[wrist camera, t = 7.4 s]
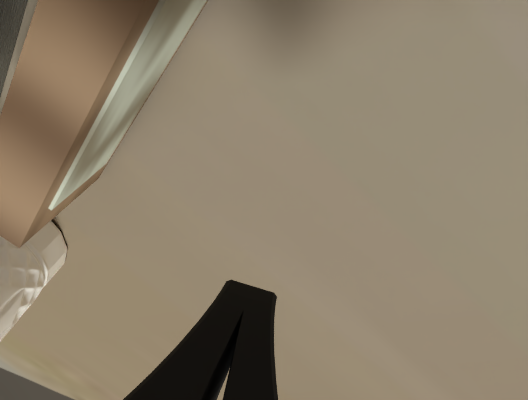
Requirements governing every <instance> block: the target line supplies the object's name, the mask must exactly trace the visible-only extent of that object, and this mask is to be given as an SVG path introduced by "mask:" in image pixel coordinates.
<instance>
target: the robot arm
mask: <svg viewBox="0 0 528 400" xmlns="http://www.w3.org/2000/svg"><path fill="white" fill-rule="evenodd" d="M276 299H277V296H276V295H275V294H274V293H273V292H270V291H266V290H263V289H260V288H256V287H253V286H250V285H247V284H243V283H240V282H237V281H233V280H229V281H226V283H225V285H224V287H223V288H222V290H221V291H220V293H219V294H218V296H217V297H216V299H215V300H214V302H213V303H212V304H211V306H210V307H209V308H208V310H207V311H206V312H205V313H204V315H203V316H202V317H201V319H200V320H199V321H198V322H197V323H196V325H195V326H194V327H193V328H192V329H191V330H190V332H189V333H188V334H187V335H186V336H185V337H184V339H183V340H182V341H181V342H180V343H179V344H178V345H177V346H176V348H175V349H174V350H173V351H172V352H171V353H170V354H169V355H168V356H167V357H166V358H165V359H164V360H163V361H162V362H161V363H160V364H159V365H158V366H157V367H156V368H155V370H154V371H153V372H152V373H151V374H150V375H148V376H147V377H146V378H145V379H144V380H143V381H142V382H141V383H140V384H139V385H138V386H137V387H136V388H135V389H134V390H133V391H132V392H131V393H130V394H129V395H127V396H126V397H125V398H124V399H123V400H217V397H218V395H219V392H220V390H221V388H222V385H223V383H224V380H225V378H226V376H227V373H228V371H229V374H228V379H227V383H226V388H225V392H224V397H223V400H278V395H277V385H276V372H275V357H274V315H275V305H276ZM229 368H230V370H229Z"/></svg>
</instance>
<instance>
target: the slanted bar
mask: <svg viewBox="0 0 528 400" xmlns="http://www.w3.org/2000/svg"><path fill="white" fill-rule="evenodd" d="M26 4H27V0H0V95H1V92H2V88H3V85H4V81H5V78H6V74H7V71H8V67H9V64H10V60H11V57H12V53H13V50H14V46H15V43H16V39H17V36H18V32H19V28H20V25H21V21H22V18H23V14H24V11H25V7H26Z"/></svg>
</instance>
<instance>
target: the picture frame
mask: <svg viewBox="0 0 528 400" xmlns="http://www.w3.org/2000/svg"><path fill="white" fill-rule="evenodd" d="M207 1H208V0H38V2H37V5H36V8H35V11H34V15H33V18H32V21H31V24H30V27H29V30H28V33H27V36H26V39H25V42H24V45H23V48H22V51H21V54H20V57H19V60H18V63H17V67H16V70H15V73H14V76H13V79H12V82H11V85H10V88H9V91H8V94H7V97H6V100H5V103H4V106H3V109H2V112H1V116H0V236H1V237H3V238H4V239H6V240H7V241H9V242H10V243H12V244H13V245H15V246H17V247H18V248H20V247H21V246H22V245H24V244H25V243H26V242H27V241H28V240H29V239H30V238H31V237H33V236H34V235H35V234H36V233H37V232H38V231H39V230H41V229H42V228H43V227H44V226H45V225H46V224H47V223H48V222H50V221H51V220H52V219H53V218H54V217H55V216H56V215H57V214H59V213H60V212H61V211H62V210H63V209H64V208H65V207H67V206H68V205H69V204H70V203H71V202H72V201H73V200H74V199H76V198H77V197H78V196H79V195H80V194H81V193H82V192H83V191H85V190H86V189H87V188H88V187H89V186H90V185H91V184H93V183H94V182H95V181H96V180H97V179H98V178H99V176H100V175H101V173H102V172H103V170H104V168H105V167H106V165H107V163H108V162H109V160H110V159H111V157H112V155H113V154H114V152H115V150H116V149H117V147H118V146H119V144H120V142H121V141H122V139H123V138H124V136H125V134H126V133H127V131H128V129H129V128H130V126H131V125H132V123H133V121H134V120H135V118H136V116H137V115H138V113H139V112H140V110H141V108H142V107H143V105H144V103H145V102H146V100H147V99H148V97H149V95H150V94H151V92H152V91H153V89H154V87H155V86H156V84H157V82H158V81H159V79H160V78H161V76H162V74H163V73H164V71H165V69H166V68H167V66H168V65H169V63H170V61H171V60H172V58H173V56H174V55H175V53H176V52H177V50H178V48H179V47H180V45H181V43H182V42H183V40H184V39H185V37H186V35H187V34H188V32H189V31H190V29H191V27H192V26H193V24H194V22H195V21H196V19H197V18H198V16H199V14H200V13H201V11H202V9H203V8H204V6H205V5H206V3H207Z"/></svg>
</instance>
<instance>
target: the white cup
mask: <svg viewBox="0 0 528 400" xmlns="http://www.w3.org/2000/svg"><path fill="white" fill-rule="evenodd" d="M66 254H67V246H66V244H65V241H64V238H63V236H62V233H61V231H60V230H59V229H58V228H57V227H56V225H55V224H54V223H53V222H52V221H50V222H48V223H47V224H46V225H45V226H44V227H43V228H42V229H41V230H39V231H38V232H37V233H36V234H35V235H34V236H33V237H31V238H30V239H29V240H28V241H27V242H26V243H25V244H24V245H22V246H21V247H20V248H18V247H17V246H15V245H13V244H12V243H10V242H9V241H7V240H6V239H4V238H3V237H1V236H0V342H1V341H2V339H3V338H4V337H5V336H6V335H7V334H8V332H9V331H10V330H11V329H12V328H13V326H14V325H15V324H16V323H17V322H18V320H19V319H20V317H21V316H22V314H23V313H24V312H25V311H26V310H27V309H28V308H29V307H30V305H31V304H32V303H33V302H34V301H35V299H36V298H37V296H38V295H39V293H40V291H41V290H42V288H43V287H44V286H45V285H46V284H47V283H48V282H49V281H50V279H51V278H52V277H53V276H54V275H55V274H56V272H57V271H58V270H59V269H60V268H61V267H62V266H63V264H64V263H65V259H66Z"/></svg>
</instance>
